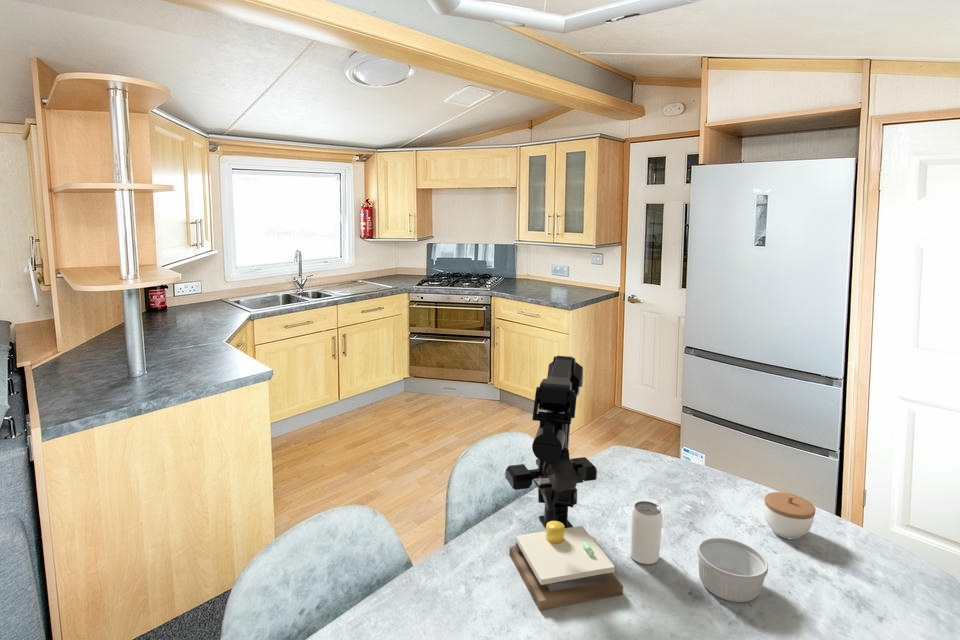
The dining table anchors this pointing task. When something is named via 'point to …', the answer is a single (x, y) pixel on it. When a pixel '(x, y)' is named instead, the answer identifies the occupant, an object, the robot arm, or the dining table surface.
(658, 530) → the can
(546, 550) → the plate
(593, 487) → the dining table surface
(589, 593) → the walnut base
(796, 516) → the lidded jar
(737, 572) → the ramekin
